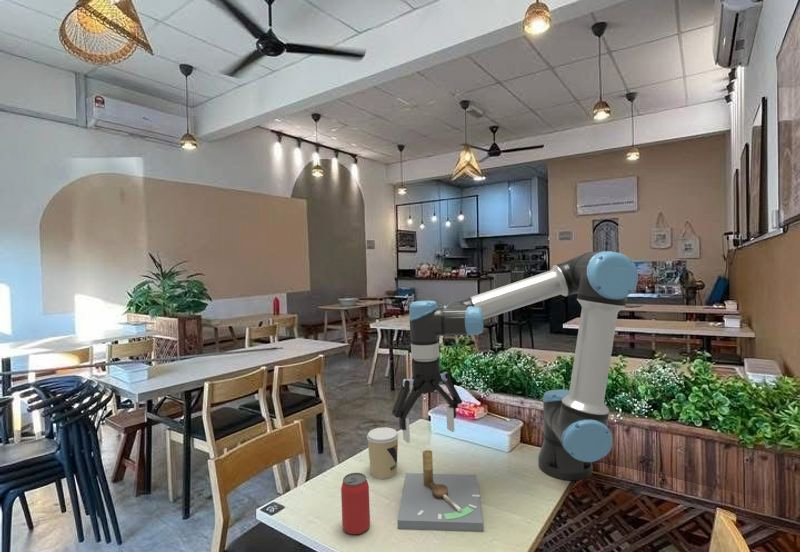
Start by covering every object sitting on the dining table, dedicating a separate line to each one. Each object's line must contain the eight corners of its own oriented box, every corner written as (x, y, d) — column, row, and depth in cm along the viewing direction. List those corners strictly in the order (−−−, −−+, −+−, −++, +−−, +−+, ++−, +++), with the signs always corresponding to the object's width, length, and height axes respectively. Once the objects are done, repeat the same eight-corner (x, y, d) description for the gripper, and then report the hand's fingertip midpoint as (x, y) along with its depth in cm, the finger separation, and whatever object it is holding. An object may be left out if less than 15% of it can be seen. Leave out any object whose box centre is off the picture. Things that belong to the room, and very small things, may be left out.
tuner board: (476, 481, 120) (476, 473, 120) (484, 531, 98) (484, 522, 98) (405, 479, 122) (405, 472, 122) (397, 528, 100) (397, 519, 100)
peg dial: (466, 509, 103) (465, 475, 103) (453, 514, 101) (452, 479, 101) (432, 479, 118) (431, 448, 117) (419, 483, 116) (418, 452, 116)
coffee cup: (395, 481, 121) (394, 440, 121) (364, 479, 123) (363, 438, 123) (402, 465, 131) (400, 427, 130) (372, 463, 133) (371, 426, 132)
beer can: (337, 527, 102) (335, 478, 101) (358, 515, 106) (356, 468, 106) (354, 540, 97) (352, 488, 96) (375, 526, 101) (374, 477, 101)
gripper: (457, 349, 123) (460, 421, 124) (377, 362, 113) (381, 440, 113) (472, 354, 116) (475, 430, 117) (388, 368, 106) (392, 451, 107)
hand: (429, 435), depth 115 cm, fingers open, 13 cm apart
